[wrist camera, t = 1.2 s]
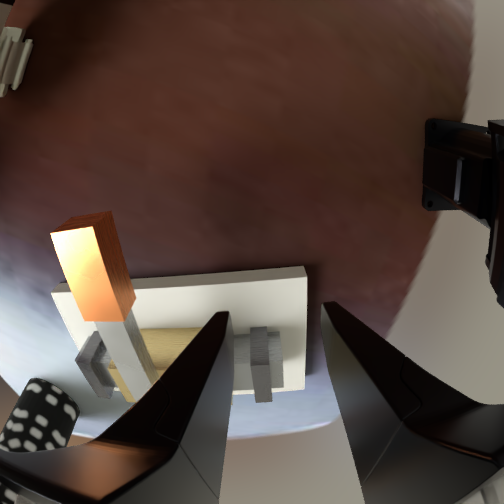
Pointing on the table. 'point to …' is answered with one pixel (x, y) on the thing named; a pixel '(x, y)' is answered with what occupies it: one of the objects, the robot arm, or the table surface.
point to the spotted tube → (38, 424)
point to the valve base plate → (216, 309)
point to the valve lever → (105, 293)
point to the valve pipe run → (173, 343)
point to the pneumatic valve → (12, 51)
